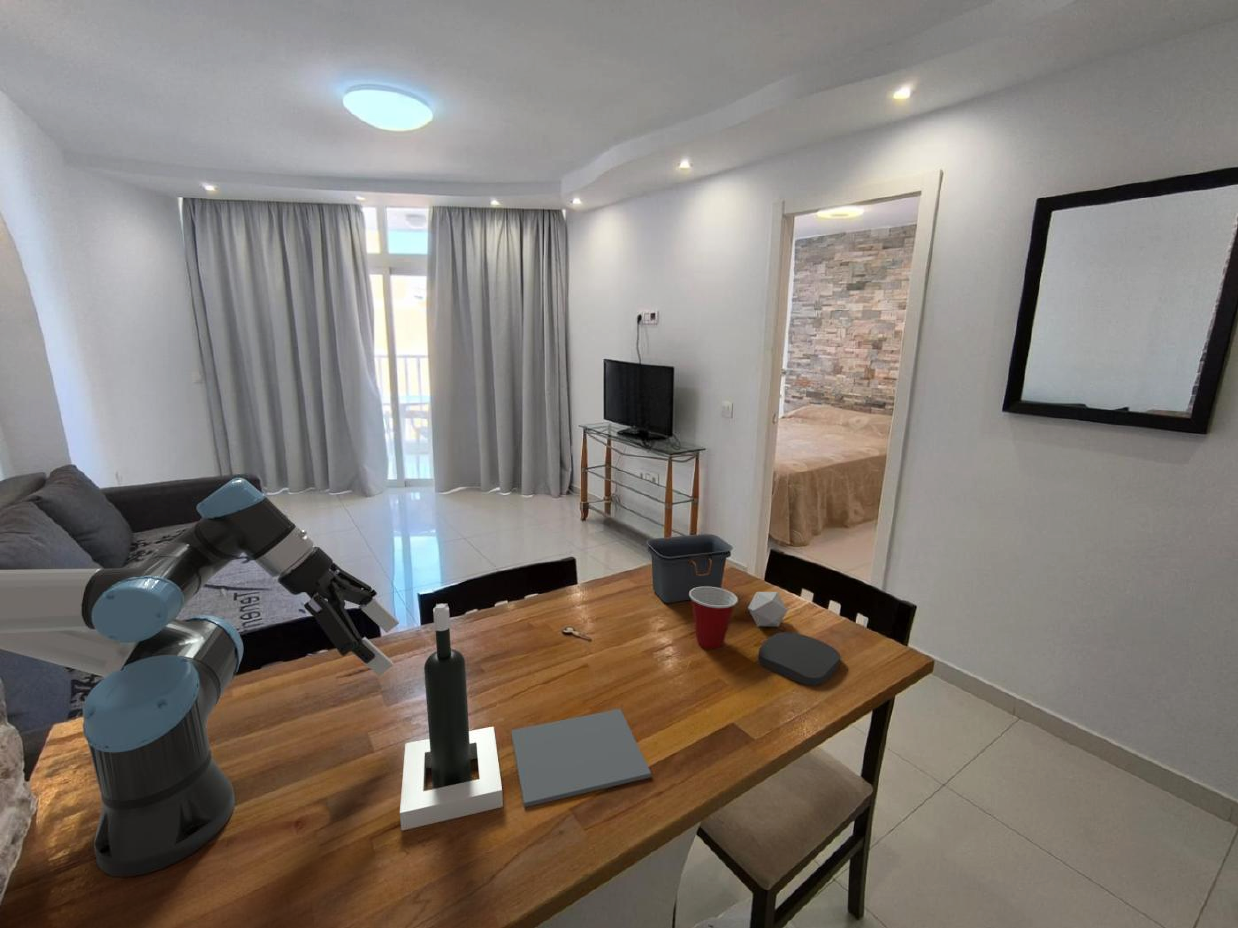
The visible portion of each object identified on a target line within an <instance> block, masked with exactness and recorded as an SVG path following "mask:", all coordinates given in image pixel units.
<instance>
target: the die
mask: <svg viewBox="0 0 1238 928" xmlns="http://www.w3.org/2000/svg"><path fill="white" fill-rule="evenodd" d="M747 609H748V611H749V612H750V615H751V617H752V618H753V621H754V623H755V625H756V626H757V627H758V628H759V627H760V628H761V627H768V628H770V627H773V628H774V627H775V628H776V627H779V626H780V624H781V623H782V621H783V619H784V617H785V616H786V614H787V612H788V608H787V607H786V605H785V603H784V601H783V599H782V598H781V596H780V594H779V592H777V591H756V592H755V594H754V596H753V598H752V599H751V601H750V603H749V605H748V607H747Z"/></svg>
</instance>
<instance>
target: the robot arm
mask: <svg viewBox="0 0 1238 928" xmlns="http://www.w3.org/2000/svg"><path fill="white" fill-rule="evenodd" d="M196 511H197V512H198V513H199V515H200V516H201V518H200V519H199V520H198V521H196V523H195V524H194V525H192V526H190V527H189V528H188V529H187V530H185V531H183V532H182V533H180V534H179V535H178V536H176V537H175V538H174V539H172V540H171V541H168V543H166V544H165V545H164V546H162V547H160V548H159V549H157V550H155V552H153V553H152V554H151V555H149V556H148V558H147V559H146V560H145V561H143V562H142V563H141V564H140V565H138V566H137V567H129V568H128V567H122V568H121V567H119V568H55V569H54V568H50V569H47V568H45V569H44V568H43V569H41V568H39V569H36V568H35V569H0V650H3V651H7V652H11V653H14V654H16V655H17V654H18V655H21V656H26V657H29V658H32V659H37V660H41V661H44V662H48V663H51V664H54V665H59V666H63V667H66V668H69V669H74V670H77V671H82V672H85V673H89V674H92V675H96V676H100V677H103V679H102V680H100V681H99V682H98V683H97V684H96V685H95V686H94V687H93V688H92V689H91V690H90V692H89V693H88V694H87V696H86V698H85V700H84V702H83V708H82V718H83V723H82V730H83V735H84V739H85V740H86V741H87V745H88V749H89V752H90V757H91V761H92V764H93V765H92V766H93V769H94V773H95V776H96V780H97V784H98V789H99V792H100V795H101V801H102V806H101V810H100V815H99V819H98V824H97V828H96V833H95V836H94V837H95V838H94V841H93V849H94V850H93V851H94V855H95V858H96V863H97V866H98V868H99V869H100V870H101V871H102V872H104V873H105V874H107V875H110V876H111V877H112V876H114V877H118V878H119V877H122V878H125V877H136V876H141V875H147V874H149V873H150V874H151V873H153V872H156V871H160V870H162V869H165V868H167V867H169V866H172V865H174V864H177V863H178V862H180V861H181V860H183V859H185V858H187V857H189V856H190V855H192V854H194V853H195V852H196V851H198V850H199V849H201V848H202V847H203V846H205V845H206V844H207V843H208V842H209V841H210V840H212V839H213V838H215V836H216V835H218V833H219V832H220V831H221V830H222V829H223V828H224V826H225V825H226V824H227V823H228V821H229V819H230V817H231V816H232V814H233V811H234V808H235V802H236V799H235V792H234V787H233V783H232V782H231V781H230V779H229V778H228V776H226V774H225V773H224V771H223V770H222V769H221V768H220V766H219V765H218V764H217V762H216V761H215V760H214V759H213V756H212V753H211V752H212V751H211V747H210V741H209V734H208V731H207V730H208V728H207V722H208V719H209V717H210V716H211V713H212V712H213V711H214V709H215V707H216V706H217V704H218V702H219V700H220V699H221V697H222V696H223V694H224V692H225V691H226V689H227V687H228V685H230V683H231V682H232V680H233V679H234V678H235V676H236V673H237V672H238V671H239V667H240V664H241V662H242V658H243V655H244V643H243V639H242V637H241V635H240V633H239V631H238V630H237V629H236V628H235V627H234V625H233V624H231V623H230V622H228V621H227V620H224V619H223V618H221V617H217V616H214V615H207V614H203V615H202V614H199V615H195V616H192V617H187V618H185V619H178V618H177V617H178V616H179V614H180V613H181V611H182V609H184V607H186V606H187V604H188V603H189V602H190V600H191V599H193V598H194V596H196V595H197V593H199V592H200V590H201V589H202V588H203V587H204V586H205V585H206V584H207V583H208V582H209V581H210V580H211V579H212V578H213V576H215V575H216V574H218V572H220V571H221V570H222V569H224V568H225V567H227V565H229V564H230V563H231V562H233V561H234V560H235V559H237V558H238V557H239V556H241V555H242V554H243V553H244V555H246V556H248V557H249V558H250V559H251V560H253V562H254V563H256V565H258V566H259V567H260V568H261V569H262V570H264V571H265V573H267V574H268V575H269V576H270V577H272V578H277V580H278V581H277V582H278V584H280V585H281V586H282V587H283V588H284V589H286V590H287V591H288V592H289V593H290V594H291V595H293V596H298V595H300V594H303V593H305V594H306V595H307V596H308V597H309V599H310V600H308V601H306V602H305V603H304V604H303V608H304V609H305V610H306V611H307V612H308V613H309V614H310V615H312V616H313V618H314V619H315V621H316V622H317V624H318V625H319V626H320V628H321V630H322V631H324V633H325V635H326V636H327V638H329V640H330V642H331V643H332V644H333V646H334V647H335V648H336V650H337V652H338V653H339V654H340V655H341V656H343V657H344V656H346V655H348V654H349V653H350V652H351V653H352V654H353V655H354V656H355V657H357V658H358V659H359V660H360V661H361V662H362V663H363V664H365V665H366V666H367V668H369V669H370V670H371V671H373V672H374V673H375V674H376V675H377V676H378V677H380V676H382V675H383V674H384V673H385V672H387V671H388V670H390V668H392V667H393V666H394V661H392V660H391V658H389V656H387V655H385V654H384V653H383V651H381V649H379V648H378V647H377V646H375V645H374V643H373V642H371V641H370V640H369V639H368V638H367V637H366V636H364V637H362V636H361V635H360V633H359V631H358V629H357V627H356V626H355V624H354V623H353V620H352V619H351V617H350V615H349V613H348V612H347V611H348V610H347V609H346V607H345V606H346V602H348V603H350V604H351V603H352V604H355V605H357V606H361V611H362V612H363V613H365V614H366V615H367V616H368V617H369V618H370V619H371V620H372V622H374V623H375V624H377V626H379V627H380V628H381V630H383V631H384V632H385V633H386V634H387V633H389V632H391V630H392V629H394V628H395V627H396V626H398V625H399V624H400V621H399V620H398V618H396V617H395V616H394V615H393V614H392V613H391V612H390V611H389V610H388V609H387V608H386V607H385V606H384V605H382V604H381V603H380V602H379V601H378V600H377V599H376V598H374V597H376V596H377V595H378V592H377V591H376V590H375V589H373V588H372V586H370V585H369V584H367V583H365V582H363V581H362V580H360V579H359V578H358V577H355V576H354V575H351V574H350V573H349V572H347V571H345V570H343V569H342V568H341V567H340V566H339V565H337V564H336V563H335V562H334V560H333V558H331V557H330V556H329V555H328V554H327V553H326V552H325V551H324V550H323V549H322V548H321V547H320V546H318V547H317V546H314V541H313V540H312V539H311V538H309V536H308V532H307V531H306V530H305V529H303V530H302V529H300V528H299V527H298V526H297V525H296V524H295V523H294V522H293V521H291V520H290V519H289V518H288V516H286V515H285V514H284V513H283V512H282V511H281V510H280V509H279V508H278V507H277V506H276V505H275V504H274V503H273V502H272V501H271V500H270V499H269V498H268V496H267V495H266V494H265V493H262V492H261V491H260V490H259V489H257V488H256V487H255V486H254V485H253V484H251V482H249V481H248V480H247V479H245V478H243V477H234V478H233V479H231V480H229V481H228V482H227V483H225V484H224V485H223V486H222V487H220V488H218V489H217V490H215V491H214V492H212V494H210V495H209V496H208V497H206V498H205V499H203V500H202V501H201V502H199V503H198V504H197V505H196Z"/></svg>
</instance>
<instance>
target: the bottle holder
mask: <svg viewBox="0 0 1238 928" xmlns="http://www.w3.org/2000/svg"><path fill="white" fill-rule="evenodd" d="M495 735H496V734H495V727H494V726H489V727H488V726H487V727H484V728H479V729H478V728H477V729H473V730H469V742H470V759H471V760H473V759H477V761H476V762H477V769H478V779H473V780H471V781H469V782H464V783H459V784H455V785H450V786H446V787H441V788H437V789H433V788H432V789H428V790H426V779H427V777H426V774H427V773H426V772H427V769H432V767H431V754H430V741H429V738H426V739H423V740H422V739H421V740H416V741H411V742H407V743H406V742H405V745H404V746H405V747H404V749H405V750H404V758H403V771H402V772H403V773H402V782H401V785H402V786H401V794H400V806H399V817H400V819H399V820H400V830H401V831H405V830H411V829H415V828H418V827H423V826H427V825H428V826H429V825H431V824H436V823H439V822H441V823H442V822H444V821H449V820H453V819H458V818H462V817H465V816H469V815H475V814H478V813H482V812H487V811H490V810H495V809H500V808H503V807H504V805H503V804H504V803H503V789H502V779H501V771H500V765H499V758H498V757H499V756H498V749H497V742H496V736H495Z"/></svg>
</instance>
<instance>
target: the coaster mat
mask: <svg viewBox="0 0 1238 928" xmlns="http://www.w3.org/2000/svg"><path fill="white" fill-rule="evenodd" d="M510 736H511V742H512V747H513V753H514V758H515V763H516V770H517V775H518V781H519V786H520V793H521V796H522V797H521V798H522V804H523V808H528V807H531V806H536V805H540V804H544V803H549V802H552V801H558V800H562V799H565V798H569V797H574V796H579V795H582V794H585V793H590V792H594V791H600V790H603V789H608V788H612V787H615V786H616V787H617V786H619V785H620V786H621V785H624V784H628V783H632V782H637V781H641V780H645V779H646V780H647V779H650V778H652V772H651V770H650V768H649V766H648V763H647V762H646V760H645V757H644V755H643V753H642V751H641V749H640V747H639V744H638V743H637V741H636V739H635V736H634V735H633V732H632V730H631V728H630V726H629V724H628V721H627V720H626V718H625V715H624V713H623V711H622V709H621V708H618V709H617V708H616V709H613V710H612V709H611V710H608V711H602V712H601V711H600V712H598V713H592V714H588V715H587V714H586V715H582V716H576V717H572V718H567V719H562V720H557V721H552V722H546V723H540V724H536V725H530V726H526V727H522V728H516V729H511V730H510Z"/></svg>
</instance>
